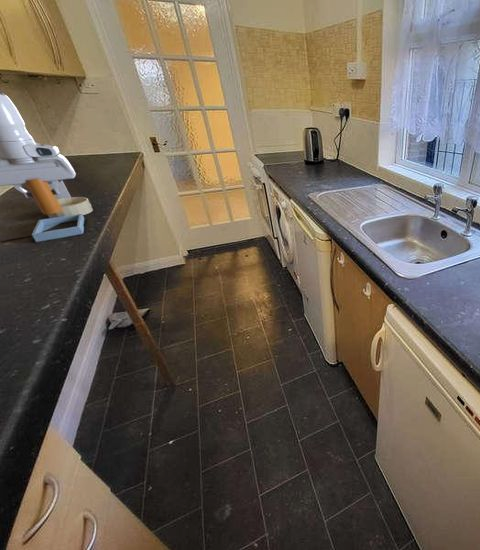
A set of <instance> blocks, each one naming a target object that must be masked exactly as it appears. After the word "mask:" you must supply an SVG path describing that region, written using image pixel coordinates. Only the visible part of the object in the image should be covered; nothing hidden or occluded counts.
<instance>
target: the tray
mask: <svg viewBox="0 0 480 550" xmlns="http://www.w3.org/2000/svg"><path fill="white" fill-rule="evenodd" d="M75 221H77V224H76V226H72V227H66V228H60V229H53V230H49V229H52V228H53V227H55V226H56V227H57V226H58V225H60V224H62V223H70V222H75ZM84 224H85V217H84V215H82V214H75V215H69V216H62V217H55V218H48V217H47V218H43V219H38V221H37V223H36V225H35V227H34V229H33V231H32V232H31V236H32V238H33V239H34V241H35V242H36V243H39V242H44V241H49V240H56V239H63V238H67V237H72V236H73V237H74V236H77V235H78V236H79V235H83V234H84V231H85V226H84Z"/></svg>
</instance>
